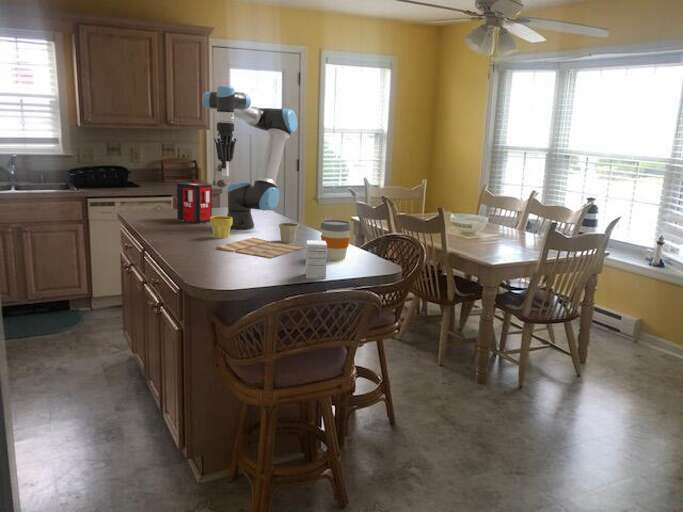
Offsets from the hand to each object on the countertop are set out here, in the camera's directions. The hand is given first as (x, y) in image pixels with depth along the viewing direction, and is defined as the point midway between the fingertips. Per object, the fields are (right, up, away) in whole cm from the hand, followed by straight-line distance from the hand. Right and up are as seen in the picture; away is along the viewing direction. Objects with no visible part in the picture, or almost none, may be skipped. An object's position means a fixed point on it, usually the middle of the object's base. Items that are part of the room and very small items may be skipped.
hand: (225, 175), depth 267 cm
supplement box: (+43, -44, -51) cm, 80 cm away
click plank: (+10, -32, -8) cm, 34 cm away
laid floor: (+22, -34, -15) cm, 43 cm away
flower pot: (+28, -30, +6) cm, 41 cm away
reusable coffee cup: (+49, -37, -21) cm, 65 cm away
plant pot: (-4, -28, +10) cm, 30 cm away
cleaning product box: (-27, -18, +53) cm, 62 cm away
